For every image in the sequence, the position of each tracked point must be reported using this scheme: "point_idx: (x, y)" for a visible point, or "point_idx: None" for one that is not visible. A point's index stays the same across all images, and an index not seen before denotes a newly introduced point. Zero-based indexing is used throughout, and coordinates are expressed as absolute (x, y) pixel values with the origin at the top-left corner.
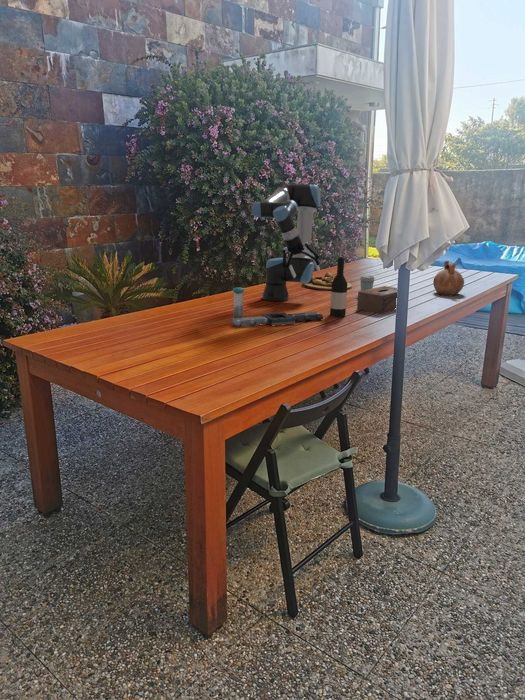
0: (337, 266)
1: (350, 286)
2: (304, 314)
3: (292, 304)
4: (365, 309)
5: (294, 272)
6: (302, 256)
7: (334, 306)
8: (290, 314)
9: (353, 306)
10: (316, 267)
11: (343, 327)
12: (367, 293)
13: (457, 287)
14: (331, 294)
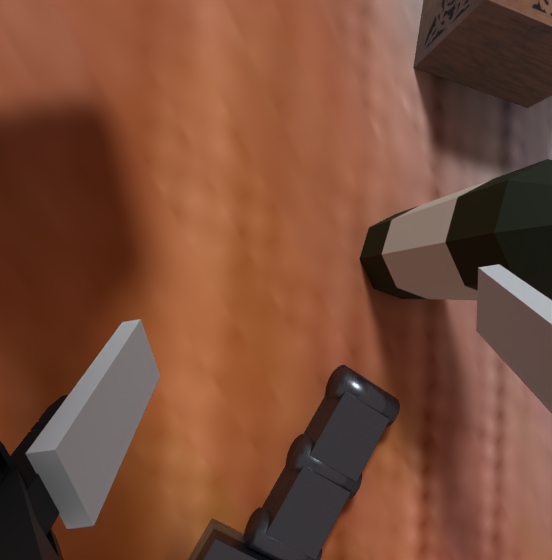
0: None
1: None
2: (333, 486)
3: (46, 150)
4: (464, 78)
5: (126, 357)
6: None
7: (433, 298)
8: (271, 548)
9: (371, 4)
10: (522, 370)
11: (511, 449)
12: (543, 24)
13: None
14: (452, 287)
